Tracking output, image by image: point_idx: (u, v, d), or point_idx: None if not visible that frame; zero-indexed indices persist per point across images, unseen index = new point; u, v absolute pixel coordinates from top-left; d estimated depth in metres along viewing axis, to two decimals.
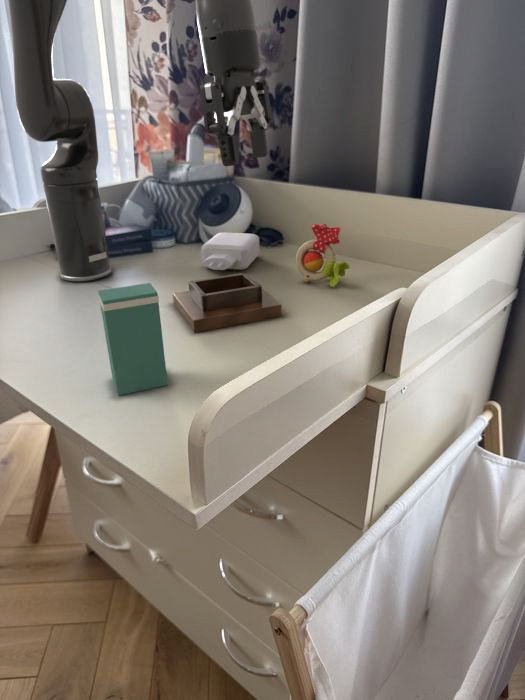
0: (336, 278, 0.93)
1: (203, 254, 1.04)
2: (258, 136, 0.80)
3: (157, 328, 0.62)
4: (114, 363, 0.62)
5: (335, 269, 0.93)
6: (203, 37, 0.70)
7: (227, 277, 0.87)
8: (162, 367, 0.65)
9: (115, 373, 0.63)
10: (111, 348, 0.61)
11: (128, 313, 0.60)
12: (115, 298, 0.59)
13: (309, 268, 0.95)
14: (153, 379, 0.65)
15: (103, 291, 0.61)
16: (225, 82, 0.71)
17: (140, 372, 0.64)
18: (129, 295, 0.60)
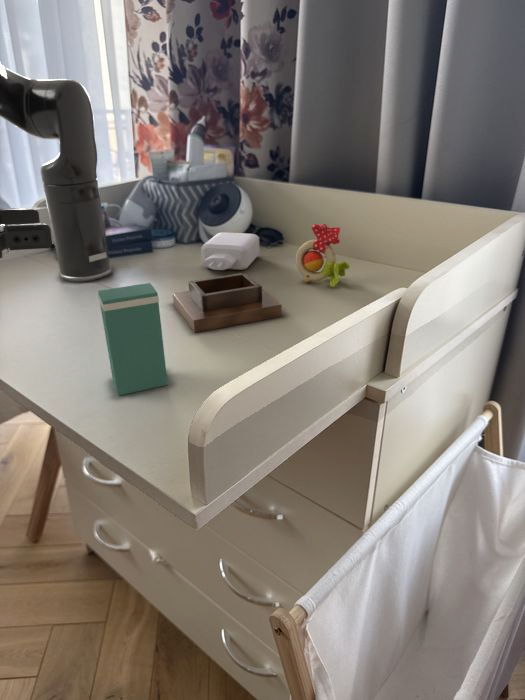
0: (336, 278, 0.93)
1: (203, 254, 1.04)
2: None
3: (157, 328, 0.62)
4: (114, 363, 0.62)
5: (335, 269, 0.93)
6: None
7: (227, 277, 0.87)
8: (162, 367, 0.65)
9: (115, 373, 0.63)
10: (111, 348, 0.61)
11: (128, 313, 0.60)
12: (115, 298, 0.59)
13: (309, 268, 0.95)
14: (153, 379, 0.65)
15: (103, 291, 0.61)
16: None
17: (140, 372, 0.64)
18: (129, 295, 0.60)
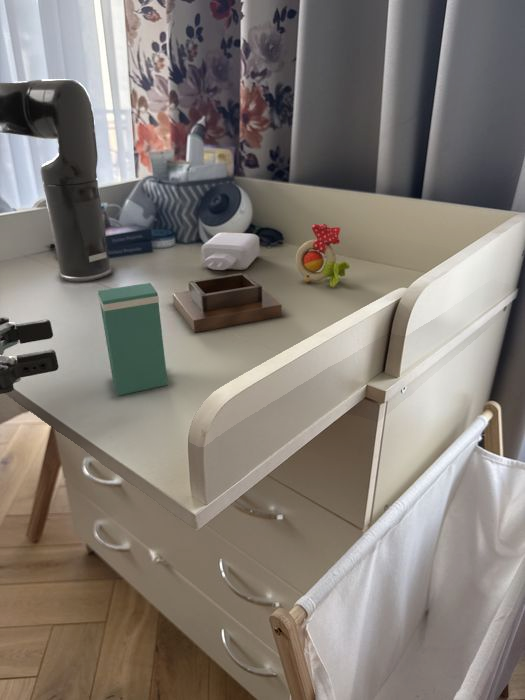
0: (336, 278, 0.93)
1: (203, 254, 1.04)
2: None
3: (157, 328, 0.62)
4: (114, 363, 0.62)
5: (335, 269, 0.93)
6: None
7: (227, 277, 0.87)
8: (162, 367, 0.65)
9: (115, 373, 0.63)
10: (111, 348, 0.61)
11: (128, 313, 0.60)
12: (115, 298, 0.59)
13: (309, 268, 0.95)
14: (153, 379, 0.65)
15: (103, 291, 0.61)
16: None
17: (140, 372, 0.64)
18: (129, 295, 0.60)
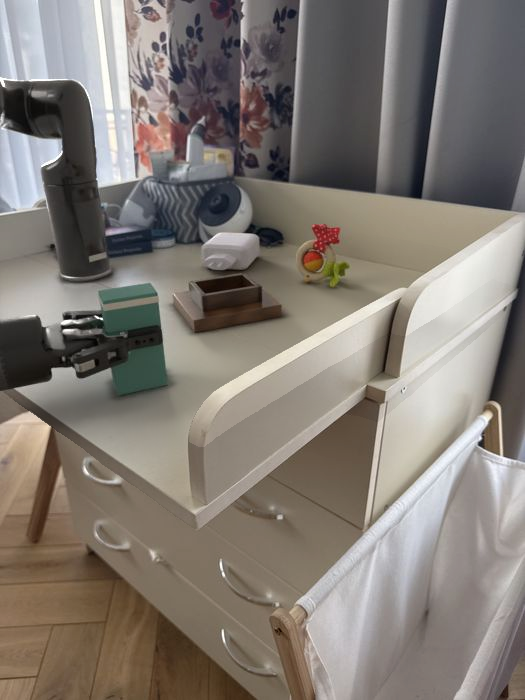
0: (336, 278, 0.93)
1: (203, 254, 1.04)
2: None
3: None
4: None
5: (335, 269, 0.93)
6: None
7: (227, 277, 0.87)
8: (162, 367, 0.65)
9: (115, 373, 0.63)
10: None
11: (128, 312, 0.60)
12: (115, 298, 0.59)
13: (309, 268, 0.95)
14: (153, 379, 0.65)
15: (103, 291, 0.61)
16: None
17: (140, 372, 0.64)
18: (129, 295, 0.60)
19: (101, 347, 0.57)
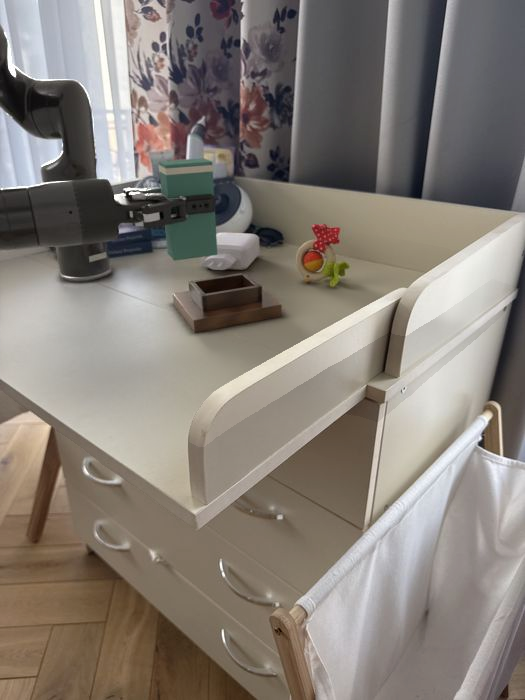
0: (336, 278, 0.93)
1: None
2: None
3: None
4: (172, 227, 0.69)
5: (335, 269, 0.93)
6: None
7: (227, 277, 0.87)
8: (213, 237, 0.72)
9: (172, 238, 0.70)
10: None
11: (186, 179, 0.67)
12: (176, 164, 0.66)
13: (309, 268, 0.95)
14: (205, 248, 0.72)
15: (163, 161, 0.68)
16: None
17: (194, 239, 0.71)
18: (188, 162, 0.67)
19: (165, 203, 0.64)
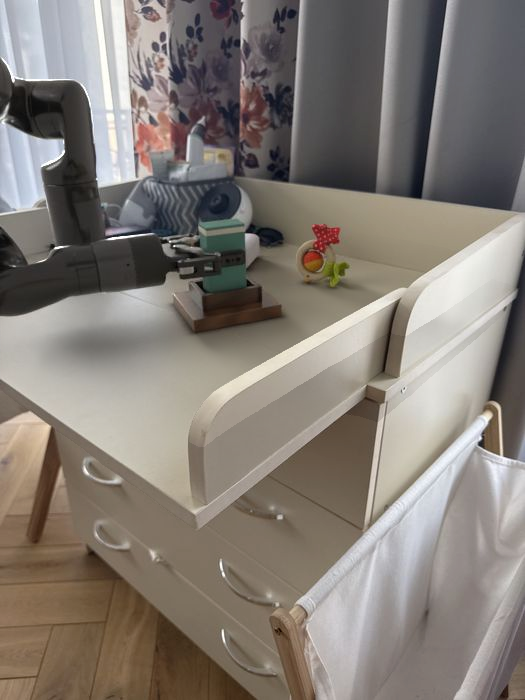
0: (336, 278, 0.93)
1: None
2: None
3: None
4: (210, 279, 0.81)
5: (335, 269, 0.93)
6: None
7: None
8: (244, 285, 0.84)
9: (210, 287, 0.82)
10: None
11: (223, 238, 0.79)
12: (214, 226, 0.78)
13: (309, 268, 0.95)
14: None
15: (203, 223, 0.80)
16: None
17: (227, 288, 0.83)
18: (224, 225, 0.79)
19: (200, 259, 0.74)
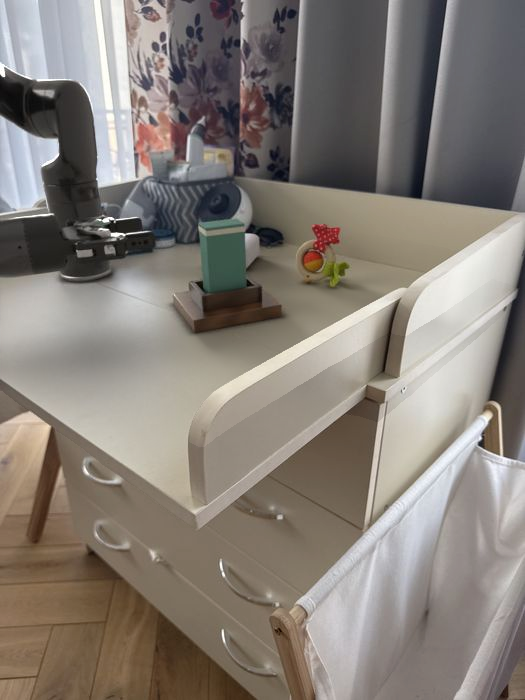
0: (336, 278, 0.93)
1: None
2: None
3: (242, 252, 0.81)
4: (210, 279, 0.81)
5: (335, 269, 0.93)
6: None
7: None
8: (244, 285, 0.84)
9: (210, 287, 0.82)
10: (209, 266, 0.80)
11: (223, 238, 0.79)
12: (214, 226, 0.78)
13: (309, 268, 0.95)
14: None
15: (203, 223, 0.80)
16: None
17: (227, 288, 0.83)
18: (224, 225, 0.79)
19: (100, 241, 0.68)
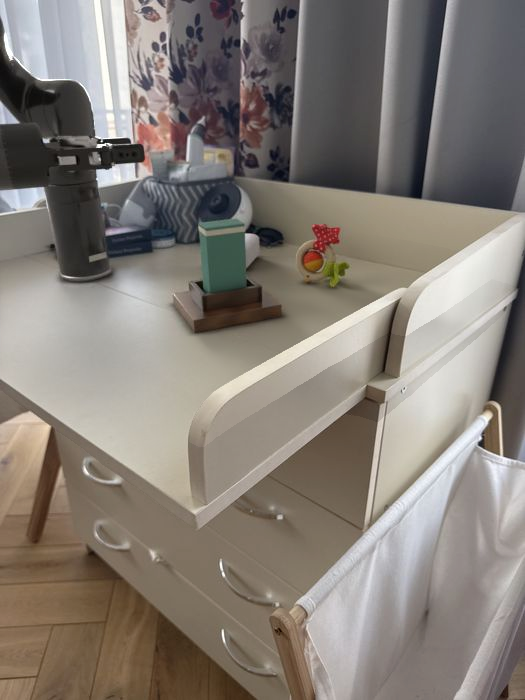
0: (336, 278, 0.93)
1: None
2: None
3: (242, 252, 0.81)
4: (210, 279, 0.81)
5: (335, 269, 0.93)
6: None
7: None
8: (244, 285, 0.84)
9: (210, 287, 0.82)
10: (209, 266, 0.80)
11: (223, 238, 0.79)
12: (214, 226, 0.78)
13: (309, 268, 0.95)
14: None
15: (203, 223, 0.80)
16: None
17: (227, 288, 0.83)
18: (224, 225, 0.79)
19: (84, 148, 0.63)
